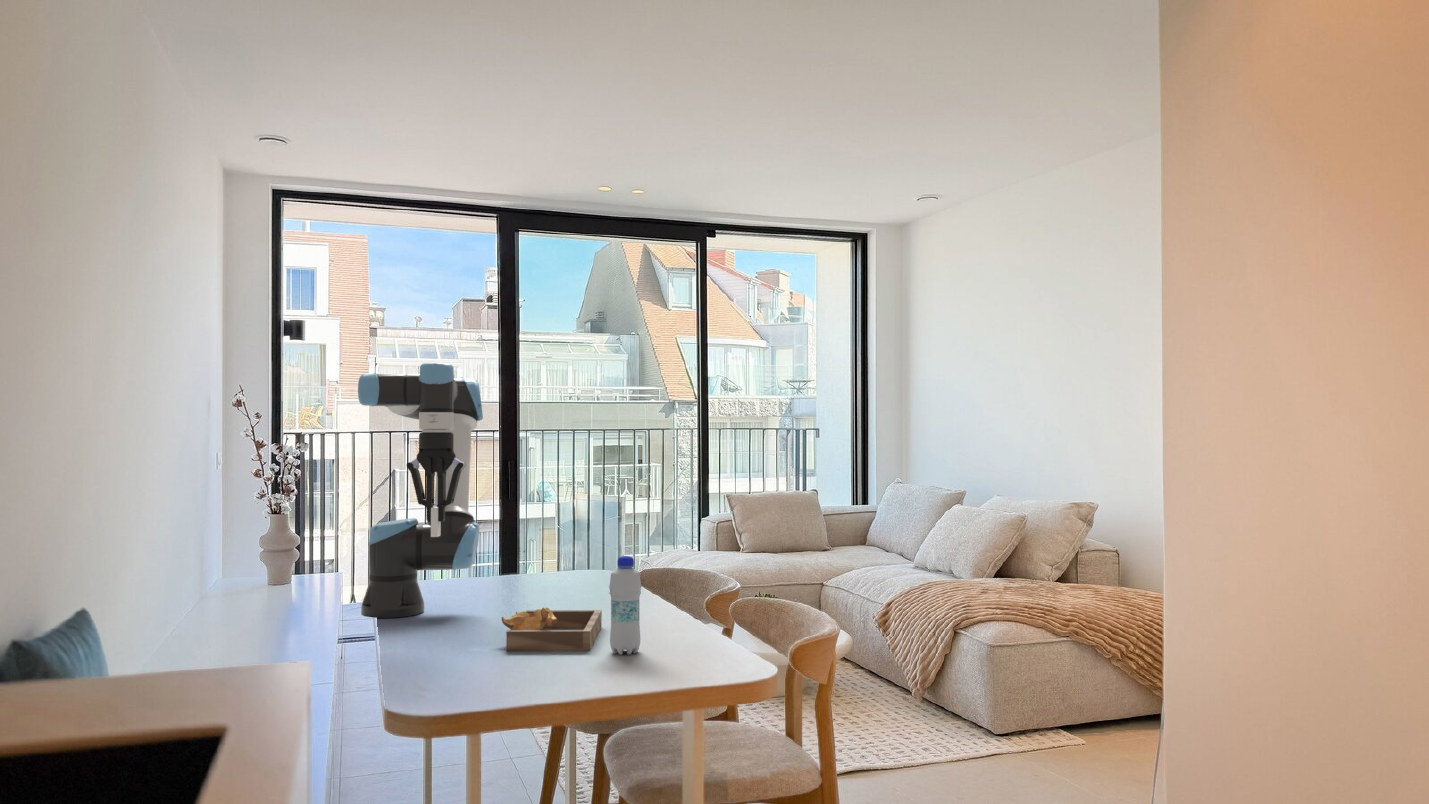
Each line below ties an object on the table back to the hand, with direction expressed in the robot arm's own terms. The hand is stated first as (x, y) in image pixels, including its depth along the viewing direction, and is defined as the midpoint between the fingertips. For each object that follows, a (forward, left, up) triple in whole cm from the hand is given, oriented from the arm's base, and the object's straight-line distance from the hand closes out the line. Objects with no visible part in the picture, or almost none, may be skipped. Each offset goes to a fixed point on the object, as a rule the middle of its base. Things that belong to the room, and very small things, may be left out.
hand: (435, 536), depth 220 cm
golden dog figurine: (+8, +23, -23) cm, 33 cm away
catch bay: (+3, +27, -22) cm, 35 cm away
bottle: (+17, +44, -23) cm, 52 cm away
